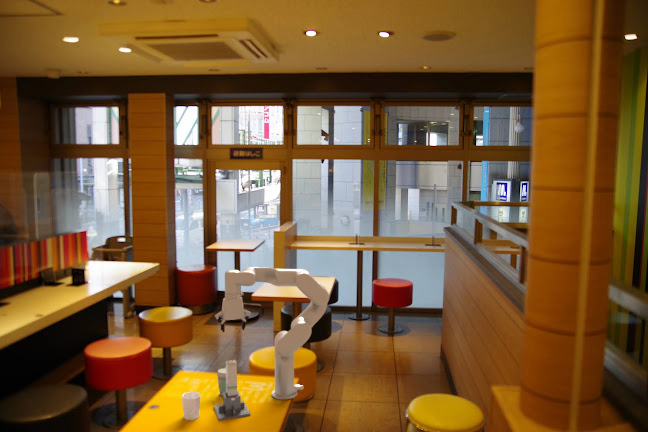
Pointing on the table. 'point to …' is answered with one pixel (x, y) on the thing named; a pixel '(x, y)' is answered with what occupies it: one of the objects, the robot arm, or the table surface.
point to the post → (231, 378)
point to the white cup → (191, 405)
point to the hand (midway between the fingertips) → (233, 330)
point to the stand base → (231, 408)
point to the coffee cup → (222, 380)
